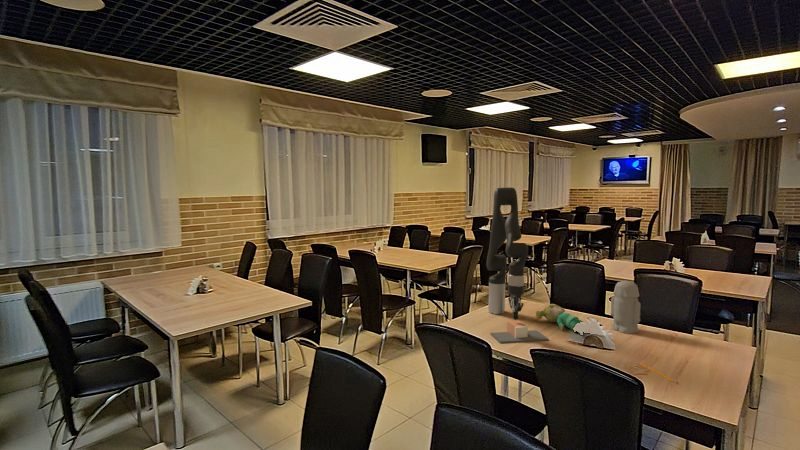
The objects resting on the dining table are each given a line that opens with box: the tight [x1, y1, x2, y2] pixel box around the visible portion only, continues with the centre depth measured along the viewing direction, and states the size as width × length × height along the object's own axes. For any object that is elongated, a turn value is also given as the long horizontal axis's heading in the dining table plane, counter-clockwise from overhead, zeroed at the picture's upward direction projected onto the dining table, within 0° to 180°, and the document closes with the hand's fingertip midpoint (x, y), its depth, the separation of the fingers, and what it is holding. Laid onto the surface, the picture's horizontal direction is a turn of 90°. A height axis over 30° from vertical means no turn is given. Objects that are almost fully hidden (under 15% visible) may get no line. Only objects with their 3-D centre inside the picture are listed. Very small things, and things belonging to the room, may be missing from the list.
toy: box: [535, 303, 583, 331], centre depth 220 cm, size 17×10×30 cm
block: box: [506, 319, 529, 338], centre depth 206 cm, size 5×6×10 cm
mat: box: [490, 329, 549, 344], centre depth 204 cm, size 12×24×1 cm, turn 99°
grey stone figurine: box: [610, 280, 642, 335], centre depth 213 cm, size 15×10×25 cm
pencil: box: [638, 362, 679, 384], centre depth 165 cm, size 1×19×1 cm, turn 12°
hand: (515, 318), depth 207 cm, fingers closed
